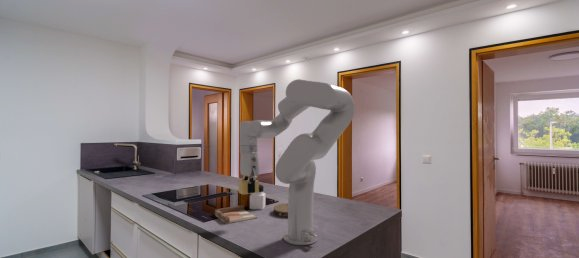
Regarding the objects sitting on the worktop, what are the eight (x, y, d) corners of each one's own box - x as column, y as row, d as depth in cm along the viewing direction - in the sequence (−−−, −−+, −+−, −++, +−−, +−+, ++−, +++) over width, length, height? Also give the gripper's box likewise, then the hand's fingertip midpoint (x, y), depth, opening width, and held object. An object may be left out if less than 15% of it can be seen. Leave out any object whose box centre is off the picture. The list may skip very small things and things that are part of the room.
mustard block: (258, 192, 119) (258, 180, 119) (242, 194, 115) (242, 182, 115) (254, 190, 122) (254, 179, 122) (238, 192, 118) (238, 181, 118)
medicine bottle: (265, 206, 149) (265, 183, 149) (262, 209, 142) (263, 186, 142) (252, 205, 150) (252, 183, 150) (249, 209, 142) (249, 186, 143)
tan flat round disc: (311, 215, 134) (311, 209, 134) (283, 220, 126) (283, 213, 126) (294, 207, 147) (294, 201, 147) (268, 211, 139) (268, 205, 139)
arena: (257, 218, 128) (257, 212, 128) (226, 224, 119) (226, 218, 119) (242, 209, 141) (242, 205, 141) (214, 214, 133) (214, 209, 133)
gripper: (265, 150, 114) (265, 194, 113) (248, 148, 128) (248, 187, 128) (249, 150, 110) (249, 196, 109) (233, 149, 124) (233, 189, 123)
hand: (248, 191), depth 118 cm, fingers closed on mustard block, 4 cm apart
